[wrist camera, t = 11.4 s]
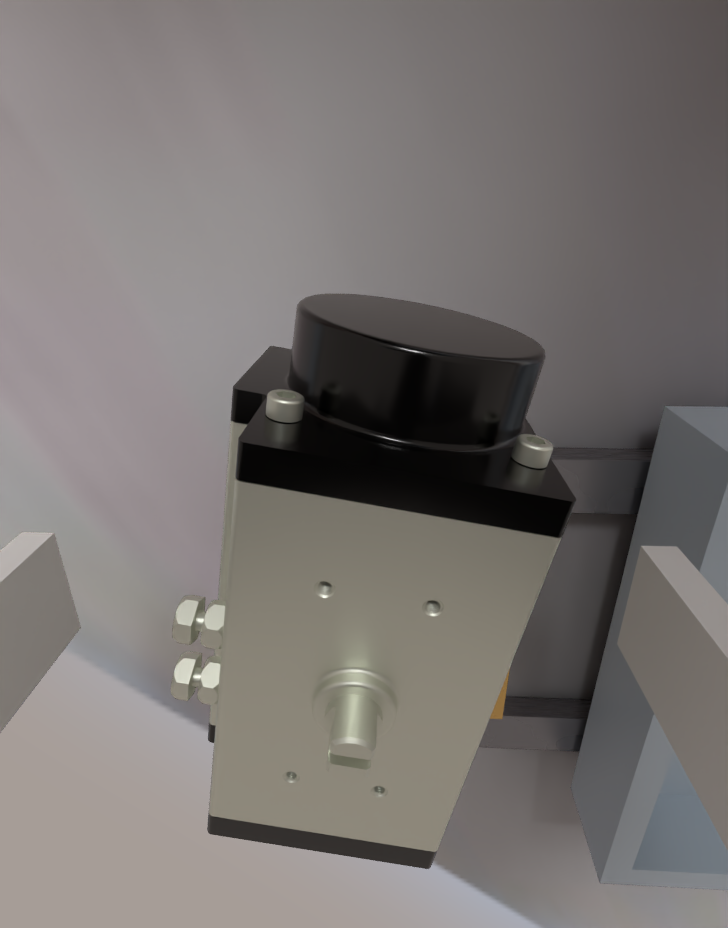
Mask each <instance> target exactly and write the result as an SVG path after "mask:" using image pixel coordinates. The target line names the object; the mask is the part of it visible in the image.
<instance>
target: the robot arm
mask: <svg viewBox="0 0 728 928" xmlns="http://www.w3.org/2000/svg"><path fill="white" fill-rule="evenodd" d="M80 628H81V626H80V623H79V619H78V616H77V612H76V609H75V605H74V602H73V598H72V594H71V591H70V587H69V584H68V580H67V577H66V573H65V569H64V566H63V562H62V559H61V555H60V552H59V548H58V544H57V541H56V537H55V534H54V533H38V532H21V533H20V534H19V535H18V536H17V537H15V538H14V539H13V540H12V541H11V542H9V543H8V544H7V545H6V546H5V547H3V548H2V549H1V550H0V733H1V731H2V730H3V729H4V727H5V726H6V725H7V724H8V722H9V721H10V719H11V718H12V717H13V716H14V714H15V713H16V712H17V710H18V709H19V708H20V707H21V705H22V704H23V702H24V701H25V700H26V699H27V697H28V696H29V695H30V693H31V692H32V691H33V689H34V688H35V687H36V686H37V684H38V683H39V682H40V680H41V679H42V678H43V676H44V675H45V674H46V673H47V671H48V670H49V669H50V667H51V666H52V665H53V663H54V662H55V661H56V660H57V658H58V657H59V656H60V654H61V653H62V652H63V650H64V649H65V648H66V646H67V645H68V644H69V643H70V641H71V640H72V639H73V637H74V636H75V635H76V633H77V632H78V631H79V629H80ZM617 645H618V647H619V649H620V650H621V652H622V654H623V656H624V658H625V660H626V662H627V663H628V665H629V667H630V669H631V671H632V673H633V675H634V677H635V678H636V680H637V682H638V684H639V686H640V688H641V690H642V692H643V693H644V695H645V697H646V699H647V701H648V703H649V705H650V707H651V708H652V710H653V712H654V714H655V716H656V718H657V720H658V722H659V723H660V725H661V727H662V729H663V731H664V733H665V735H666V737H667V738H668V740H669V742H670V744H671V746H672V748H673V750H674V752H675V753H676V755H677V757H678V759H679V761H680V763H681V765H682V767H683V768H684V770H685V772H686V774H687V776H688V778H689V780H690V782H691V783H692V785H693V787H694V789H695V791H696V793H697V795H698V797H699V798H700V800H701V802H702V804H703V806H704V808H705V810H706V812H707V813H708V815H709V817H710V819H711V821H712V823H713V825H714V827H715V828H716V830H717V832H718V834H719V836H720V838H721V840H722V842H723V843H724V845H725V847H726V849H727V851H728V604H727V603H726V602H725V601H724V599H723V598H722V597H721V596H720V595H719V594H718V593H717V591H716V590H715V589H714V588H713V587H712V586H711V585H710V584H709V582H708V581H707V580H706V579H705V578H704V577H703V576H702V574H701V573H700V572H699V571H698V570H697V569H696V568H695V566H694V565H693V564H692V563H691V562H690V561H689V560H688V558H687V557H686V556H685V555H684V554H683V553H682V552H681V550H680V549H679V548H678V547H676V546H641V548H640V552H639V556H638V560H637V564H636V568H635V572H634V576H633V580H632V584H631V589H630V593H629V597H628V601H627V605H626V609H625V613H624V617H623V621H622V625H621V629H620V633H619V638H618V642H617Z"/></svg>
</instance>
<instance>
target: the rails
mask: <svg viewBox="0 0 728 928" xmlns="http://www.w3.org/2000/svg"><path fill="white" fill-rule="evenodd" d="M653 451H654V449H608V448H553V451H552V454H551V457H550V458H551V460H552V461H553V463H554V464H555V466H556V468H557V469H558V471H559V472H560V474H561V476H562V477H563V479H564V480H565V482H566V483H567V485H568V487H569V488H570V490H571V491H572V493H573V495H574V496H575V498H576V503H575V505H574V508H573V510H572V513H603V514H638V512H639V508H640V504H641V500H642V496H643V492H644V487H645V483H646V479H647V475H648V471H649V467H650V463H651V459H652V455H653ZM509 670H510V669H509ZM508 677H509V671H508V674H507V676H506V679H505V681H504V684H503V686H502V689H501V691H500V694H499V696H498V699H497V701H496V704H495V706H494V709H493V711H492V714H491V716H490V719H489V721H488V724H487V726H486V729H485V732H484V734H483V737H482V739H481V742H480V744H479V747H490V748H514V749H537V750H560V751H580V748H581V743H582V739H583V735H584V731H585V727H586V723H587V719H588V715H589V711H590V707H591V703H592V700H573V699H547V698H521V697H506V690H507V684H508Z"/></svg>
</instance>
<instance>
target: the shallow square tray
mask: <svg viewBox="0 0 728 928" xmlns="http://www.w3.org/2000/svg"><path fill="white" fill-rule="evenodd" d="M641 546H676V547H678V548H679V549H680V550H681V552H682V553H683V554H684V555H685V556H686V557H687V558H688V560H689V561H690V562H691V563H692V564H693V565H694V566H695V568H696V569H697V570H698V571H699V572H700V573H701V574H702V576H703V577H704V578H705V579H706V580H707V581H708V582H709V584H710V585H711V586H712V587H713V588H714V589H715V590H716V591H717V593H718V594H719V595H720V596H721V597H722V598H723V599H724V601H725V602H726V603H727V604H728V407H705V406H664V410H663V414H662V418H661V422H660V427H659V431H658V435H657V439H656V443H655V447H654V451H653V455H652V459H651V463H650V467H649V471H648V475H647V479H646V483H645V487H644V492H643V496H642V500H641V504H640V508H639V512H638V516H637V520H636V524H635V528H634V532H633V536H632V540H631V544H630V548H629V552H628V557H627V561H626V565H625V569H624V573H623V577H622V581H621V585H620V589H619V593H618V597H617V601H616V605H615V609H614V613H613V617H612V622H611V626H610V630H609V634H608V638H607V642H606V646H605V650H604V654H603V658H602V662H601V666H600V670H599V674H598V678H597V682H596V687H595V691H594V695H593V699H592V703H591V707H590V711H589V715H588V719H587V723H586V727H585V731H584V735H583V739H582V743H581V748H580V752H579V756H578V760H577V764H576V768H575V772H574V776H573V780H572V784H571V790H572V793H573V797H574V800H575V803H576V807H577V810H578V813H579V816H580V820H581V823H582V826H583V830H584V833H585V836H586V839H587V843H588V846H589V849H590V853H591V856H592V859H593V862H594V866H595V869H596V872H597V876H598V879H599V882H600V883H604V884H622V885H641V886H659V887H677V888H695V889H713V890H728V851H727V849H726V847H725V845H724V843H723V842H722V840H721V838H720V836H719V834H718V832H717V830H716V828H715V827H714V825H713V823H712V821H711V819H710V817H709V815H708V813H707V812H706V810H705V808H704V806H703V804H702V802H701V800H700V798H699V797H698V795H697V793H696V791H695V789H694V787H693V785H692V783H691V782H690V780H689V778H688V776H687V774H686V772H685V770H684V768H683V767H682V765H681V763H680V761H679V759H678V757H677V755H676V753H675V752H674V750H673V748H672V746H671V744H670V742H669V740H668V738H667V737H666V735H665V733H664V731H663V729H662V727H661V725H660V723H659V722H658V720H657V718H656V716H655V714H654V712H653V710H652V708H651V707H650V705H649V703H648V701H647V699H646V697H645V695H644V693H643V692H642V690H641V688H640V686H639V684H638V682H637V680H636V678H635V677H634V675H633V673H632V671H631V669H630V667H629V665H628V663H627V662H626V660H625V658H624V656H623V654H622V652H621V650H620V649H619V647H618V645H617V642H618V638H619V633H620V629H621V625H622V621H623V617H624V613H625V609H626V605H627V601H628V597H629V593H630V589H631V584H632V580H633V576H634V572H635V568H636V564H637V560H638V556H639V552H640V548H641Z"/></svg>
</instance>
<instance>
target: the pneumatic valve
mask: <svg viewBox="0 0 728 928" xmlns="http://www.w3.org/2000/svg"><path fill="white" fill-rule="evenodd" d="M544 360H545V350H544V349H543V348H542V346H541V345H540V344H539V343H538V342H536V341H535V340H533V339H532V338H530V337H528V336H526V335H524V334H522V333H520V332H518V331H516V330H513V329H511V328H508V327H506V326H503V325H500V324H497V323H494V322H491V321H488V320H485V319H482V318H479V317H475V316H472V315H468V314H464V313H460V312H457V311H452V310H448V309H444V308H440V307H435V306H430V305H426V304H421V303H415V302H410V301H404V300H398V299H391V298H384V297H376V296H367V295H356V294H320V295H313V296H309V297H306V298H304V299H302V300H301V301H300V302H299V303H298V305H297V311H296V320H295V328H294V337H293V345H292V349H286V348H281V347H276V346H270V347H269V348H268V349H267V350H266V351H265V352H264V353H263V355H262V356H261V357H260V358H259V359H258V360H257V361H256V362H255V363H254V364H253V365H252V367H251V368H250V369H249V370H248V371H247V372H246V373H245V374H244V375H243V376H242V377H241V379H240V380H239V381H238V382H237V383H236V384H235V385H234V386H233V396H232V410H231V424H230V438H229V452H228V466H227V480H226V494H225V508H224V522H223V536H222V550H221V564H220V578H219V592H218V600H213V601H211V603H210V604H209V606H208V608H207V611H206V612H205V611H204V609H205V597H200V596H195V595H189V596H184V597H183V598H182V600H181V602H180V604H179V606H178V608H177V611H176V614H175V618H174V623H173V629H172V637H173V639H174V640H175V641H176V642H177V643H181V644H187V645H191V644H192V643H193V642H194V641H195V640H196V639H197V637H198V634H199V631H200V632H201V644H202V645H203V646H204V647H206V648H210V649H214V656H211V657H209V658H208V659H207V660H206V663H205V665H204V668H201V661H202V653H197V652H191V651H190V652H185V653H183V654H182V655H181V656H180V658H179V660H178V662H177V665H176V667H175V671H174V674H173V678H172V683H171V695H172V696H173V697H174V698H175V699H179V700H185V701H188V700H189V699H190V697H191V696H192V695H193V694H194V692H195V688H196V687H198V695H197V697H198V700H199V701H200V702H201V703H203V704H209V705H210V718H209V732H208V740H209V741H210V742H212V743H214V752H213V765H212V777H211V790H210V803H209V815H208V828H207V829H208V832H209V833H210V834H213V835H219V836H226V837H232V838H238V839H244V840H251V841H258V842H263V843H269V844H276V845H282V846H288V847H295V848H301V849H307V850H313V851H319V852H326V853H332V854H338V855H344V856H351V857H357V858H364V859H370V860H375V861H382V862H389V863H394V864H401V865H407V866H413V867H419V868H425V869H428V868H430V867H431V865H432V862H433V860H434V857H435V855H436V852H437V850H438V847H439V845H440V842H441V840H442V837H443V835H444V832H445V830H446V827H447V825H448V822H449V820H450V817H451V815H452V812H453V810H454V807H455V804H456V802H457V799H458V797H459V794H460V792H461V789H462V787H463V784H464V782H465V779H466V777H467V774H468V772H469V769H470V767H471V764H472V762H473V759H474V757H475V754H476V752H477V749H478V747H479V744H480V742H481V739H482V737H483V734H484V732H485V729H486V726H487V724H488V721H489V719H490V716H491V714H492V711H493V709H494V706H495V704H496V701H497V699H498V696H499V694H500V691H501V689H502V686H503V684H504V681H505V679H506V676H507V674H508V671H509V669H510V666H511V664H512V661H513V659H514V656H515V654H516V651H517V648H518V646H519V643H520V641H521V638H522V636H523V633H524V631H525V628H526V626H527V623H528V621H529V618H530V616H531V613H532V611H533V608H534V606H535V603H536V601H537V598H538V596H539V593H540V591H541V588H542V586H543V583H544V581H545V578H546V575H547V573H548V570H549V568H550V565H551V563H552V560H553V558H554V555H555V553H556V550H557V548H558V545H559V543H560V540H561V538H562V535H563V533H564V530H565V528H566V525H567V523H568V520H569V518H570V515H571V513H572V510H573V508H574V505H575V503H576V498H575V496H574V495H573V493H572V491H571V490H570V488H569V487H568V485H567V483H566V482H565V480H564V479H563V477H562V476H561V474H560V472H559V471H558V469H557V468H556V466H555V464H554V463H553V461H552V460H551V458H550V457H551V454H552V451H553V445H552V443H551V442H549V441H548V440H546V439H544V438H542V437H539V436H536V434H535V433H534V431H533V429H532V428H531V426H530V425H529V423H528V421H527V420H526V415H527V412H528V409H529V406H530V403H531V400H532V397H533V394H534V391H535V388H536V385H537V382H538V379H539V375H540V372H541V369H542V366H543V363H544Z"/></svg>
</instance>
